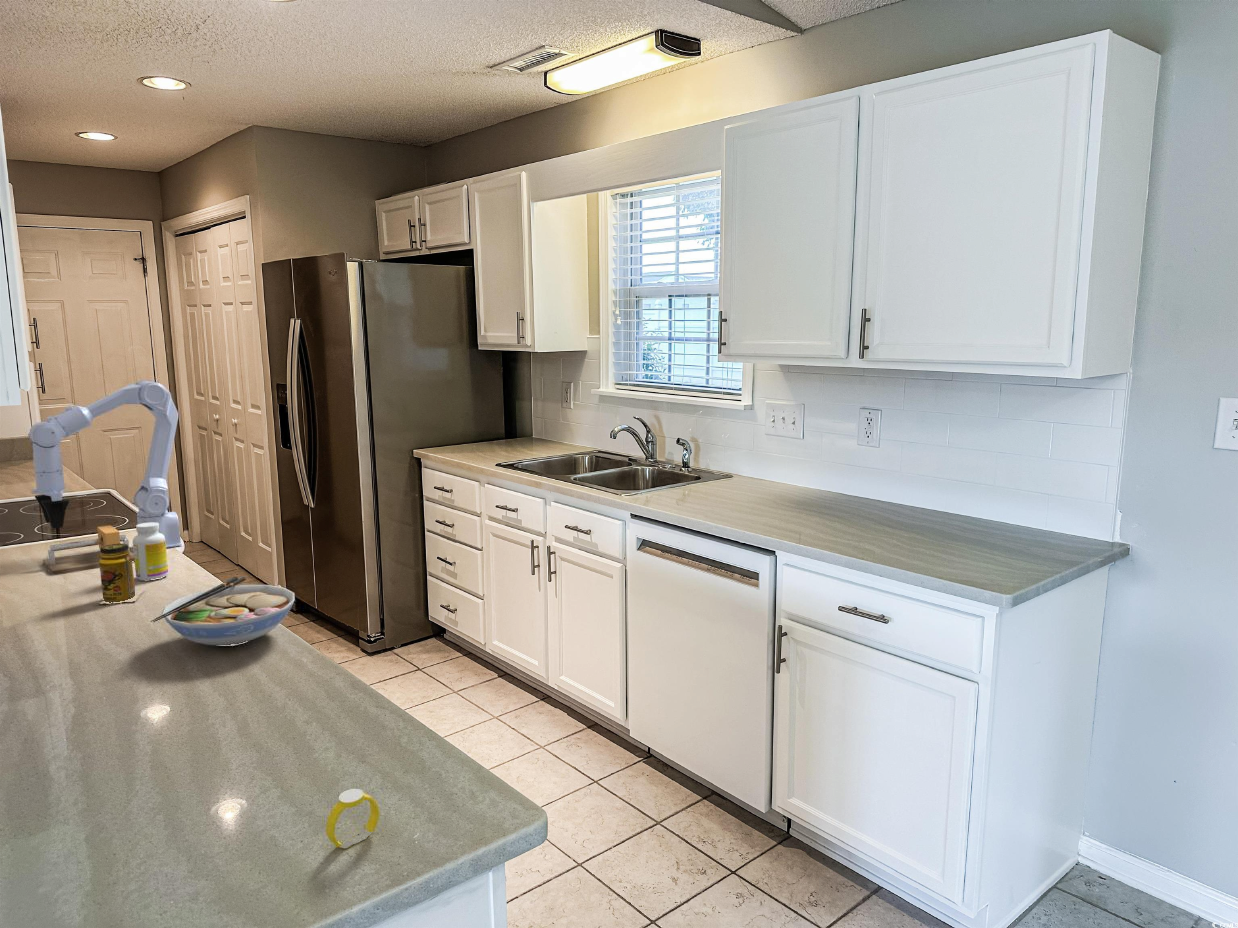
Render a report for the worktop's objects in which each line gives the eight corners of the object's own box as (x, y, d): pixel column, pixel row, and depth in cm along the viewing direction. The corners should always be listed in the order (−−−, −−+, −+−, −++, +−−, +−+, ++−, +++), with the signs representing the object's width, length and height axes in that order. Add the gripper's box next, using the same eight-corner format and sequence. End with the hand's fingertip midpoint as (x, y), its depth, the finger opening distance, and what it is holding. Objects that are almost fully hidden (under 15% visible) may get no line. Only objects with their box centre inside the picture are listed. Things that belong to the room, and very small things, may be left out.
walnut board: (125, 550, 220) (125, 547, 219) (138, 561, 210) (137, 557, 210) (43, 563, 208) (42, 559, 207) (52, 575, 198) (52, 571, 198)
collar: (112, 546, 216) (110, 525, 215) (121, 553, 209) (119, 531, 208) (99, 548, 214) (97, 526, 213) (107, 555, 207) (105, 533, 206)
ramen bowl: (245, 671, 144) (242, 626, 143) (130, 660, 148) (126, 616, 147) (324, 622, 168) (322, 583, 167) (223, 613, 173) (220, 575, 171)
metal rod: (128, 551, 215) (126, 533, 214) (129, 553, 214) (128, 534, 213) (49, 564, 204) (47, 544, 203) (50, 565, 202) (48, 545, 202)
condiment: (96, 606, 177) (91, 551, 175) (107, 593, 185) (102, 541, 183) (135, 602, 179) (130, 548, 177) (144, 591, 187) (140, 538, 185)
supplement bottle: (174, 574, 200) (170, 521, 198) (156, 582, 193) (152, 528, 191) (148, 573, 200) (143, 520, 198) (129, 581, 194) (124, 527, 192)
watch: (337, 860, 94) (331, 813, 93) (325, 849, 96) (319, 803, 95) (384, 833, 98) (379, 788, 97) (372, 823, 100) (366, 779, 99)
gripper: (24, 469, 208) (30, 522, 210) (34, 476, 197) (40, 532, 200) (57, 466, 213) (63, 518, 215) (69, 473, 202) (75, 528, 204)
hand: (54, 525), depth 207 cm, fingers open, 7 cm apart
